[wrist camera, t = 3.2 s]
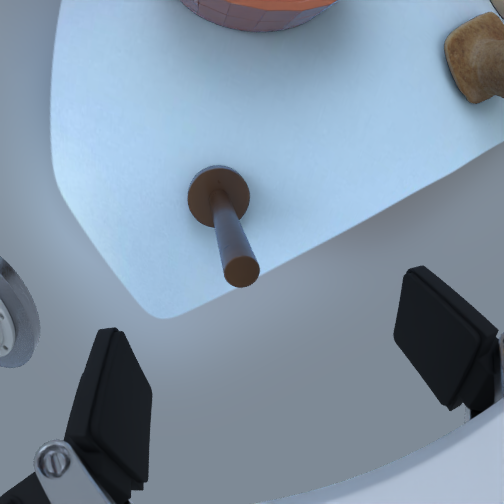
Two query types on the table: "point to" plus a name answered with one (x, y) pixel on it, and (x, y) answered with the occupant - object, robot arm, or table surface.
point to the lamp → (499, 6)
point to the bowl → (258, 13)
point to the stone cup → (477, 57)
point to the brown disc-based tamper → (225, 220)
